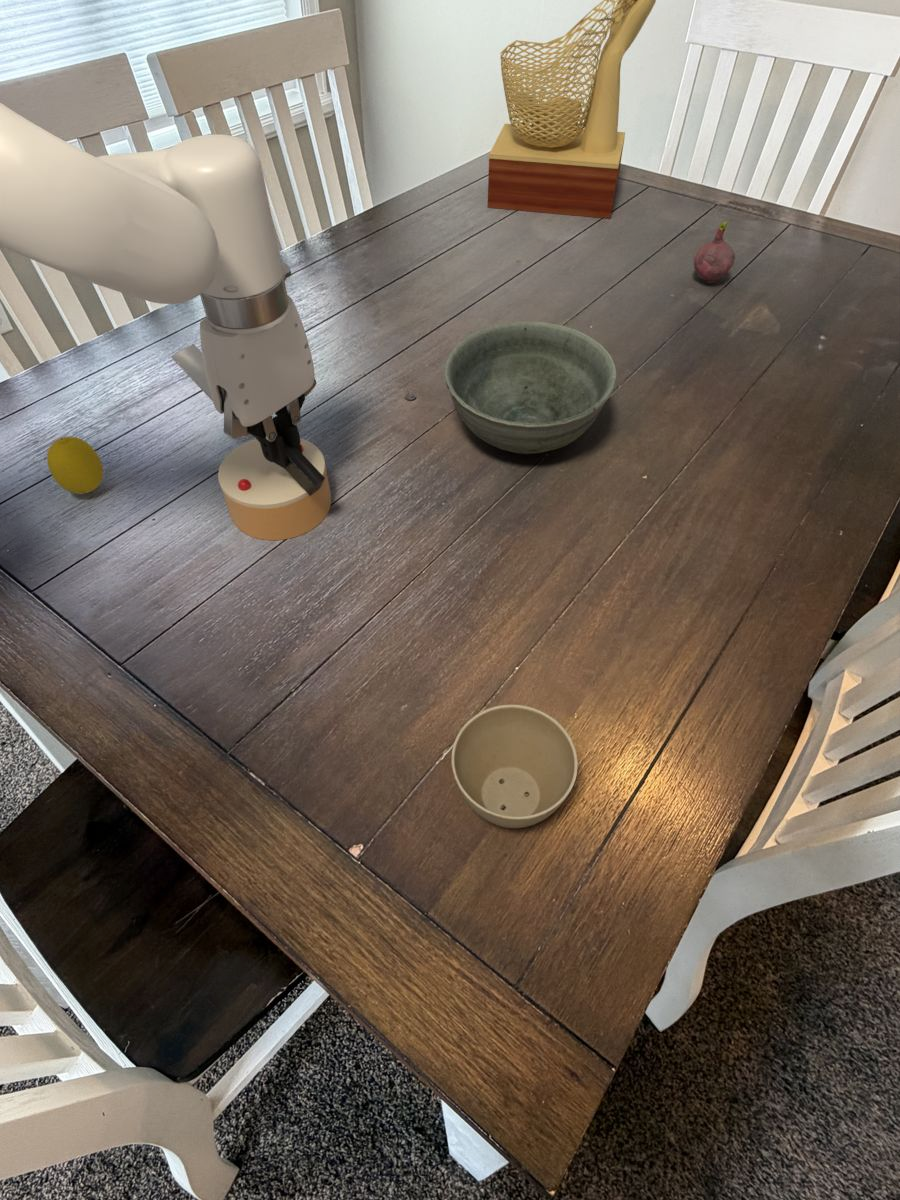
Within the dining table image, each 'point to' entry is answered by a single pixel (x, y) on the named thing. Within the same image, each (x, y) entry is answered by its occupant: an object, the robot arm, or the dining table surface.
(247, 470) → the cake
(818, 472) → the dining table surface
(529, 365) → the bowl
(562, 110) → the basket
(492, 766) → the flower pot
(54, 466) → the lemon
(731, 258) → the vegetable
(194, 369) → the knife
